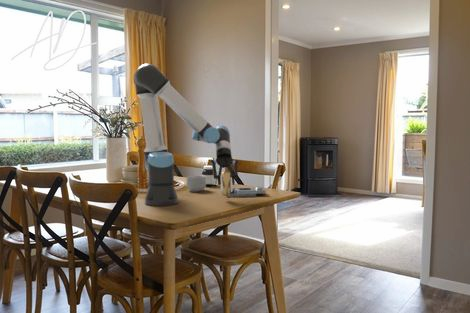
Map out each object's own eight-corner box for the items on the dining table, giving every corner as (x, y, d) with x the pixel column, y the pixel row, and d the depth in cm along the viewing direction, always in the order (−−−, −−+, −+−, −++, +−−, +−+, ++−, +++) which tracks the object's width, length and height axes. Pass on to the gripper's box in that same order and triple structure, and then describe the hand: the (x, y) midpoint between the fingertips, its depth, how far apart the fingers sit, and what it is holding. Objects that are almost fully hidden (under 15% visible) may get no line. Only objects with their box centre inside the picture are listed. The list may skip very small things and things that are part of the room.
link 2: (236, 196, 207) (236, 189, 207) (233, 193, 217) (233, 186, 217) (265, 196, 209) (265, 189, 209) (261, 192, 219) (261, 186, 219)
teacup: (202, 192, 218) (202, 178, 218) (183, 192, 220) (183, 177, 220) (209, 188, 232) (209, 174, 231) (191, 188, 234) (191, 174, 233)
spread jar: (212, 187, 235) (211, 167, 234) (194, 186, 239) (194, 166, 238) (220, 184, 246) (220, 165, 245) (203, 183, 250) (203, 164, 249)
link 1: (226, 197, 206) (226, 190, 206) (224, 193, 216) (224, 186, 216) (256, 196, 208) (256, 189, 208) (252, 192, 218) (252, 186, 218)
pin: (222, 196, 193) (222, 172, 192) (221, 194, 197) (221, 171, 196) (230, 196, 193) (230, 172, 192) (229, 194, 197) (229, 171, 196)
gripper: (239, 156, 210) (243, 194, 195) (206, 156, 208) (208, 194, 193) (241, 147, 204) (245, 185, 189) (207, 146, 202) (209, 185, 187)
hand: (226, 189), depth 191 cm, fingers closed on pin, 4 cm apart
